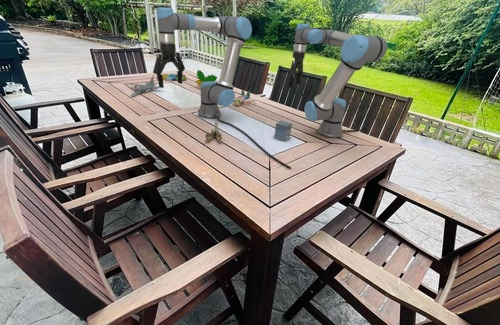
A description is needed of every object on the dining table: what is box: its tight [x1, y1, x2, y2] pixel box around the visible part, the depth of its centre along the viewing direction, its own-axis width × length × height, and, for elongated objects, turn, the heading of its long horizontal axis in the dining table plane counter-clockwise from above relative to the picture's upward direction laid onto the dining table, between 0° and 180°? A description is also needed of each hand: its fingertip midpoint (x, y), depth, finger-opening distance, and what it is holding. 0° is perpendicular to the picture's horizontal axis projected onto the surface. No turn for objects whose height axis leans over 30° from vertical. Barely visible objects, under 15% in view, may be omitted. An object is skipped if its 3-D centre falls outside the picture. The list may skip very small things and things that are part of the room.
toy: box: [232, 89, 257, 106], centre depth 219 cm, size 28×7×30 cm
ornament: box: [194, 69, 218, 87], centre depth 252 cm, size 21×8×15 cm, turn 105°
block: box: [273, 120, 293, 142], centre depth 157 cm, size 7×7×10 cm
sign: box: [162, 73, 187, 82], centre depth 282 cm, size 26×2×30 cm
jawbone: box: [205, 121, 223, 144], centre depth 149 cm, size 9×15×10 cm
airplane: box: [130, 74, 162, 97], centre depth 228 cm, size 38×32×10 cm
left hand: (171, 85), depth 143 cm, fingers open, 13 cm apart
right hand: (294, 85), depth 175 cm, fingers open, 13 cm apart
